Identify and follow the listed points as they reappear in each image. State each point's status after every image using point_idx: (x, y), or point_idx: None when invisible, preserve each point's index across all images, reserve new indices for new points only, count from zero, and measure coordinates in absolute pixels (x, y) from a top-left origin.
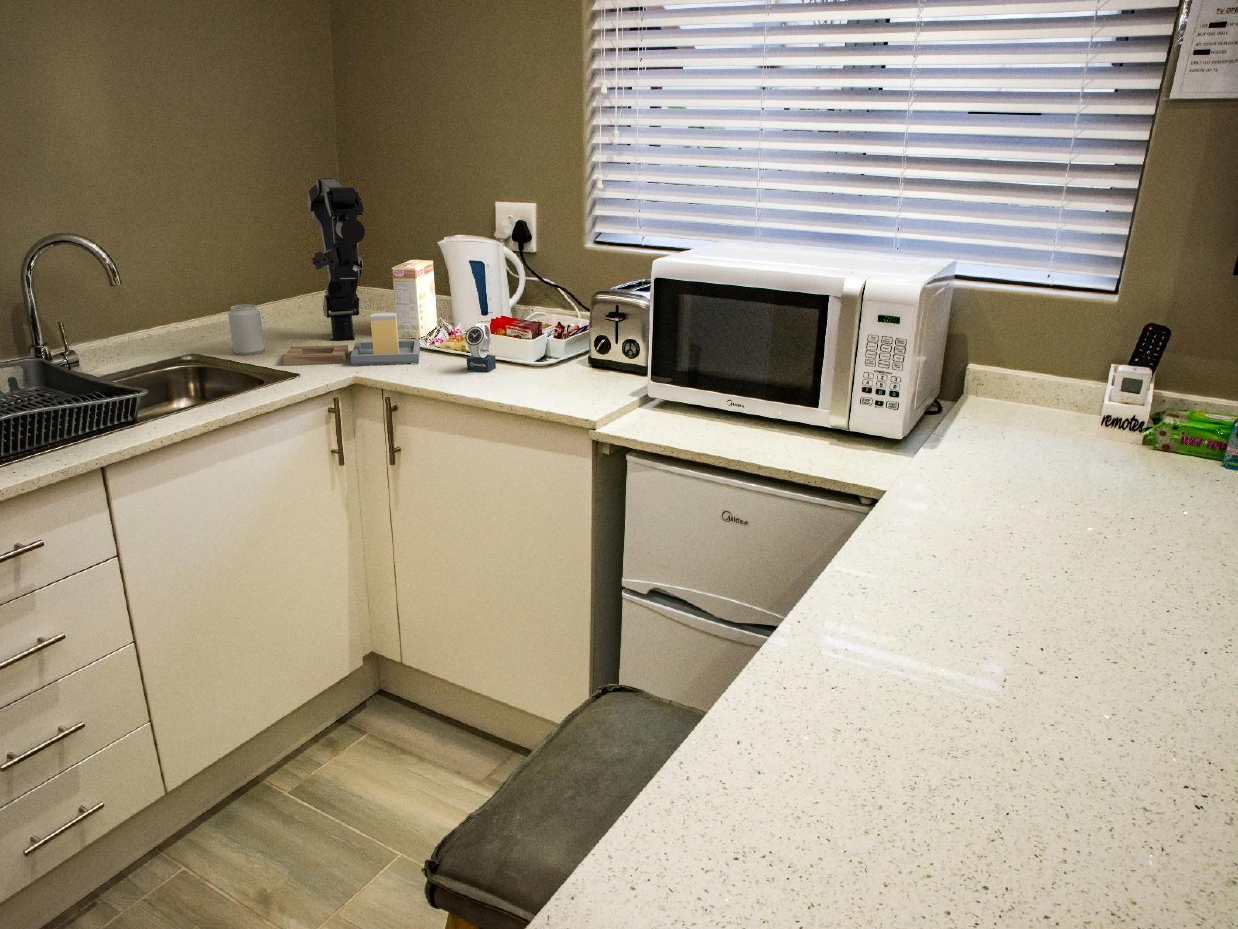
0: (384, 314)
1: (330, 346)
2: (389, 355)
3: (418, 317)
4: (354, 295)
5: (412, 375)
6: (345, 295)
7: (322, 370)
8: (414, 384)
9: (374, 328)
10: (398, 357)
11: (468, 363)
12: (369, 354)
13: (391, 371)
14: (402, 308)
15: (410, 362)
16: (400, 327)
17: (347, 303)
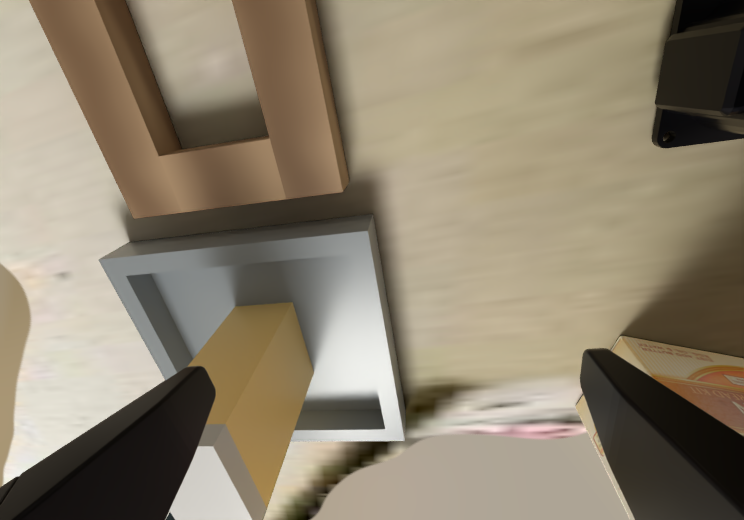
0: (204, 495)
1: (297, 106)
2: (165, 375)
3: (618, 494)
4: (589, 403)
5: (96, 407)
6: (83, 444)
7: (34, 146)
8: (24, 414)
9: None
10: None
11: (168, 515)
12: (148, 319)
13: (114, 361)
14: None
15: None
16: None
17: (182, 372)
